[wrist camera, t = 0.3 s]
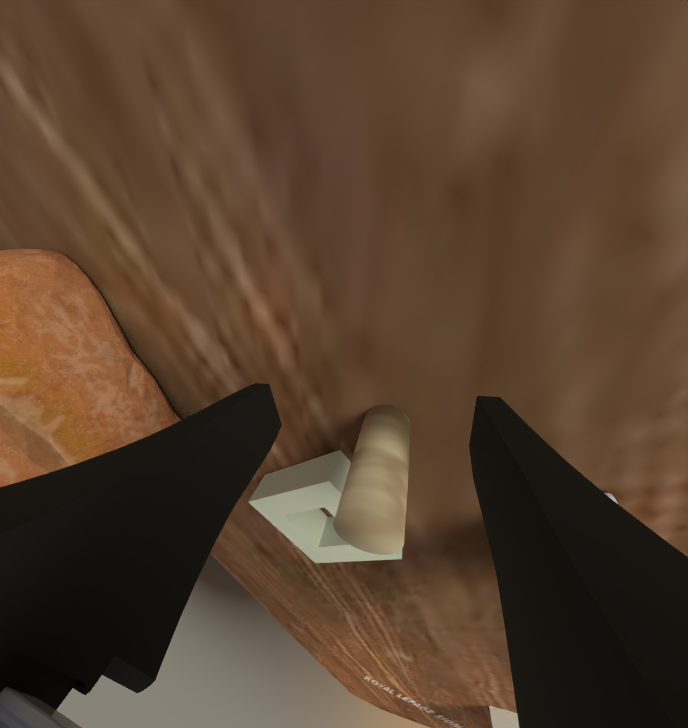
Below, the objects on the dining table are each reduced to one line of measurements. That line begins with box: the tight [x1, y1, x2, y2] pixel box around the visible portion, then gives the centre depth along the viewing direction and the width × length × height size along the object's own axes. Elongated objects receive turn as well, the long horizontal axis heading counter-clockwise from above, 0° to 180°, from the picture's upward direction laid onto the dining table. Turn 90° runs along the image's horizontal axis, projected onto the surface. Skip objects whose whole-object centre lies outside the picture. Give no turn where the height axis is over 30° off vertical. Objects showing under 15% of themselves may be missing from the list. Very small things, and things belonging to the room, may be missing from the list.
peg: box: [333, 405, 411, 555], centre depth 18 cm, size 4×4×9 cm
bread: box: [0, 249, 181, 487], centre depth 22 cm, size 14×26×15 cm, turn 13°
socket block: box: [248, 450, 402, 563], centre depth 28 cm, size 12×12×4 cm
